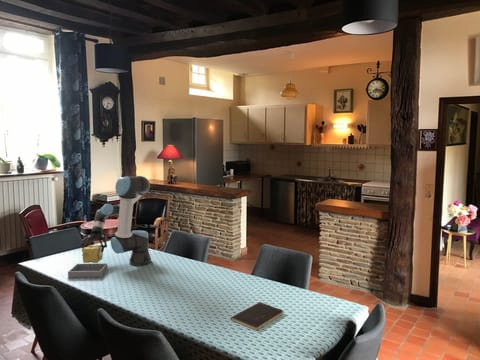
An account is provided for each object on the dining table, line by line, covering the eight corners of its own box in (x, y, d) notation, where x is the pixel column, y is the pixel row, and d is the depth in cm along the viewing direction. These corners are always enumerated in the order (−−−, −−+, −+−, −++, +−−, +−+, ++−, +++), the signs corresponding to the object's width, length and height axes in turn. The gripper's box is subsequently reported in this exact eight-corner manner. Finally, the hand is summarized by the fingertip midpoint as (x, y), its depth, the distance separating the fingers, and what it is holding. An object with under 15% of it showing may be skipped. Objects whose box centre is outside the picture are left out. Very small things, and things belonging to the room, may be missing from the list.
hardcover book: (283, 314, 192) (283, 310, 192) (256, 331, 175) (256, 327, 174) (258, 305, 202) (259, 301, 202) (230, 321, 185) (230, 316, 185)
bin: (107, 270, 253) (107, 263, 252) (100, 278, 238) (100, 271, 237) (77, 270, 252) (76, 263, 251) (68, 278, 237) (67, 271, 236)
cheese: (97, 263, 255) (97, 248, 254) (82, 263, 255) (81, 248, 254) (103, 258, 265) (102, 244, 264) (88, 258, 265) (87, 244, 264)
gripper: (115, 231, 275) (109, 258, 261) (83, 231, 273) (76, 259, 259) (112, 225, 269) (107, 253, 255) (80, 226, 268) (72, 253, 254)
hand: (91, 256), depth 257 cm, fingers closed on cheese, 11 cm apart
